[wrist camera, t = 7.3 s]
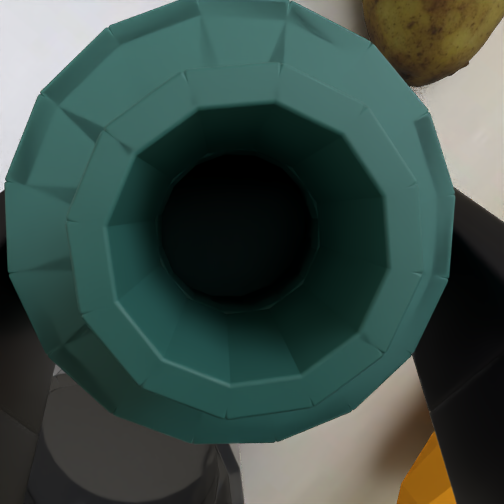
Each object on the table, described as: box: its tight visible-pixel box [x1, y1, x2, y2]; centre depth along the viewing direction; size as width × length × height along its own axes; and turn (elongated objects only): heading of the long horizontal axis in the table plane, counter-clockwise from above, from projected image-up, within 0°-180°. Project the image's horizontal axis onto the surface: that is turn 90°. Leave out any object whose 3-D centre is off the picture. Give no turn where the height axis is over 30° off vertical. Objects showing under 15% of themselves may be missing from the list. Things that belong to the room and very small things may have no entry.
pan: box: [23, 364, 244, 504], centre depth 20 cm, size 13×13×4 cm
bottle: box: [4, 0, 455, 444], centre depth 10 cm, size 7×7×12 cm
